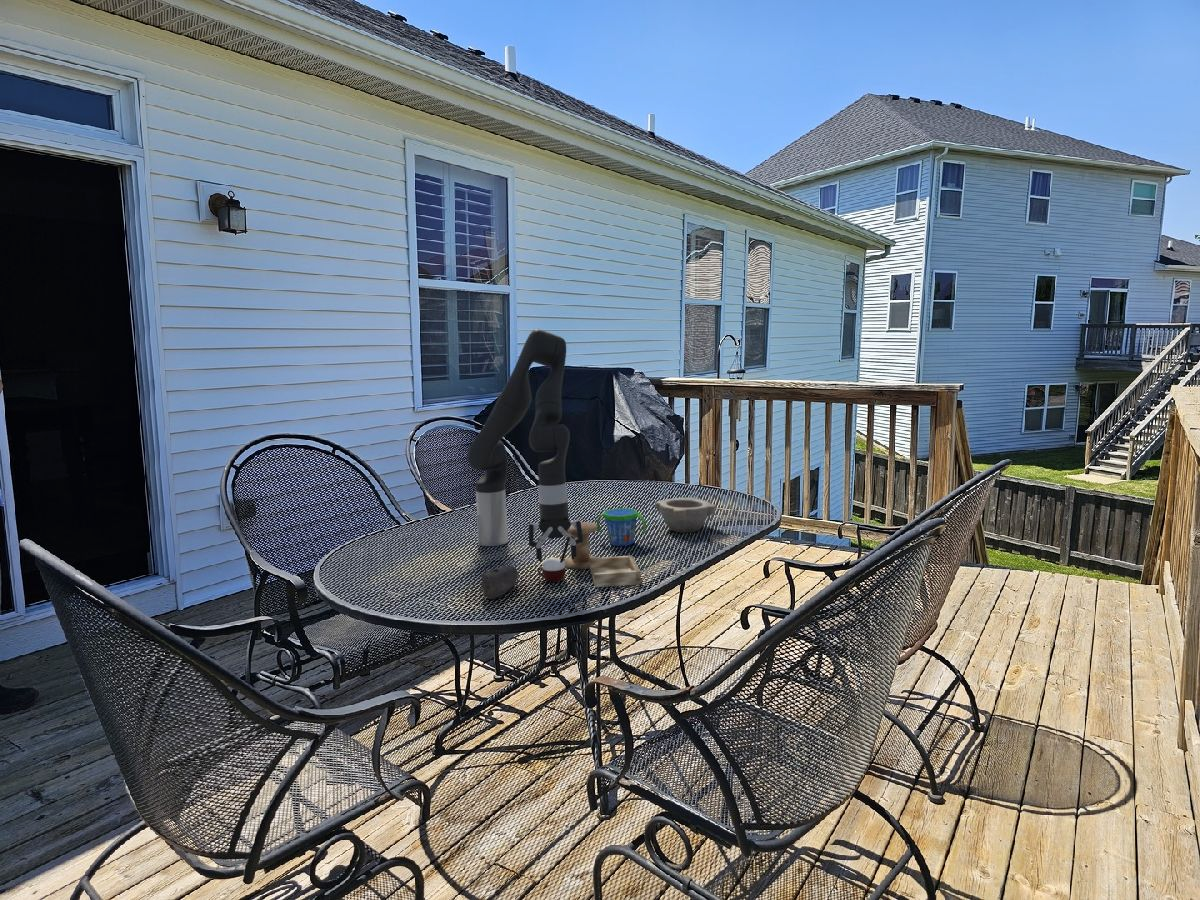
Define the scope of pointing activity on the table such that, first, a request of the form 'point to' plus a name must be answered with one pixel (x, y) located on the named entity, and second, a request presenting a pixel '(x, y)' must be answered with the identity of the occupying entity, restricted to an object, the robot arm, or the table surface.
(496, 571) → the perforated stone tool
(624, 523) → the snack cup
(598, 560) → the shallow rimmed tray
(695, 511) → the mortar
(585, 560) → the tan spool shaped stand
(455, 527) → the table surface
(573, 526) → the robot arm
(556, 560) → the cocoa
